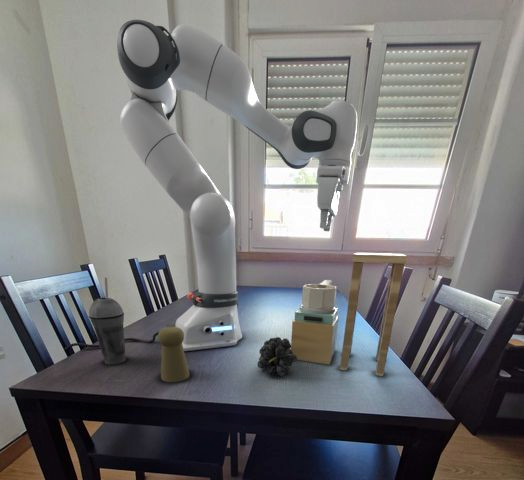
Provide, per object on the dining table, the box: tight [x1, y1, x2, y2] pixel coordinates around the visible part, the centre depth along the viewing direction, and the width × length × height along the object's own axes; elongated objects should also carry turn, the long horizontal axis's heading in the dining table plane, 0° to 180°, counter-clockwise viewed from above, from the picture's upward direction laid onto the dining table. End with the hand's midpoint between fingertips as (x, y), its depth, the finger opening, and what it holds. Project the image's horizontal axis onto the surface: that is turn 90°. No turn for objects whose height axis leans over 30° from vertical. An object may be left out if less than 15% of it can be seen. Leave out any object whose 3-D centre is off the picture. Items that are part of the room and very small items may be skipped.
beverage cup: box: [88, 277, 126, 365], centre depth 66 cm, size 7×7×20 cm
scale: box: [290, 304, 340, 366], centre depth 73 cm, size 10×10×13 cm
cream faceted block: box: [301, 279, 338, 310], centre depth 75 cm, size 19×8×5 cm, turn 160°
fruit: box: [257, 336, 298, 376], centre depth 66 cm, size 9×8×15 cm
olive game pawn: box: [157, 326, 190, 383], centre depth 60 cm, size 6×6×11 cm
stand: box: [339, 252, 408, 377], centre depth 65 cm, size 12×10×26 cm
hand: (324, 229), depth 83 cm, fingers open, 8 cm apart
